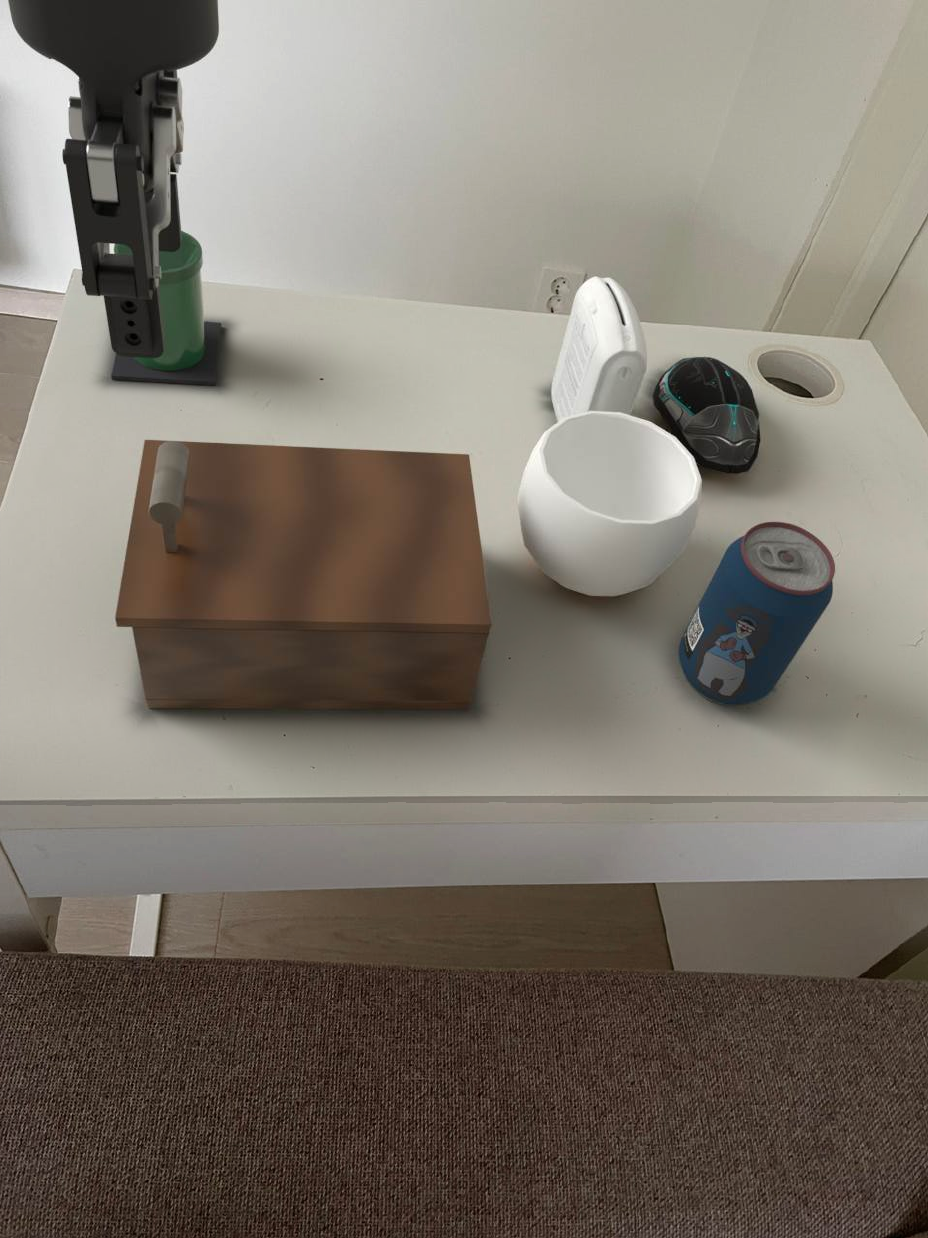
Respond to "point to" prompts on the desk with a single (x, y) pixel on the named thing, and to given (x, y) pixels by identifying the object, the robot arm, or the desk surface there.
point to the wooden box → (308, 668)
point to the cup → (608, 502)
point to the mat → (193, 375)
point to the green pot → (179, 306)
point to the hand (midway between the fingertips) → (149, 297)
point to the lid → (303, 540)
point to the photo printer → (600, 353)
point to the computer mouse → (710, 413)
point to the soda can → (756, 613)
